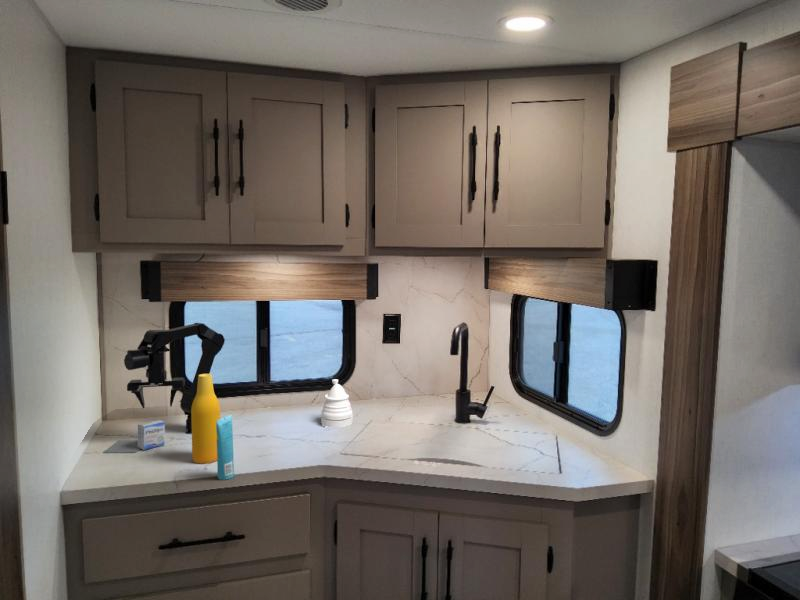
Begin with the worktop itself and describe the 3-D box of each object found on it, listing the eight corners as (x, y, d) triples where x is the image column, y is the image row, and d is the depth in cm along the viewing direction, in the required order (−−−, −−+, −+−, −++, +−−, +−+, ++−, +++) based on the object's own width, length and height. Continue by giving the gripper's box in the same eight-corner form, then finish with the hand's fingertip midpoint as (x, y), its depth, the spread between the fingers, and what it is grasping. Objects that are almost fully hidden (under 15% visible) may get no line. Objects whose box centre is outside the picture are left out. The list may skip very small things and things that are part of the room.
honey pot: (316, 422, 230) (316, 379, 228) (343, 417, 237) (344, 375, 235) (330, 431, 219) (330, 386, 217) (358, 425, 226) (358, 382, 224)
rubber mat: (149, 440, 205) (149, 440, 205) (135, 452, 193) (135, 452, 193) (118, 441, 205) (118, 440, 205) (103, 453, 193) (102, 452, 193)
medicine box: (143, 450, 195) (143, 426, 194) (137, 447, 198) (137, 423, 197) (164, 445, 201) (165, 421, 200) (158, 441, 204) (158, 418, 203)
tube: (225, 471, 179) (224, 413, 177) (238, 473, 177) (237, 414, 176) (212, 480, 171) (210, 420, 170) (226, 482, 170) (225, 421, 168)
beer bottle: (223, 453, 194) (221, 371, 191) (218, 463, 185) (216, 378, 182) (195, 454, 193) (193, 372, 190) (189, 464, 184) (187, 378, 181)
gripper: (186, 359, 211) (187, 399, 212) (132, 361, 206) (134, 402, 208) (182, 365, 200) (183, 408, 202) (125, 368, 195) (127, 411, 197)
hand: (157, 407), depth 202 cm, fingers open, 9 cm apart
